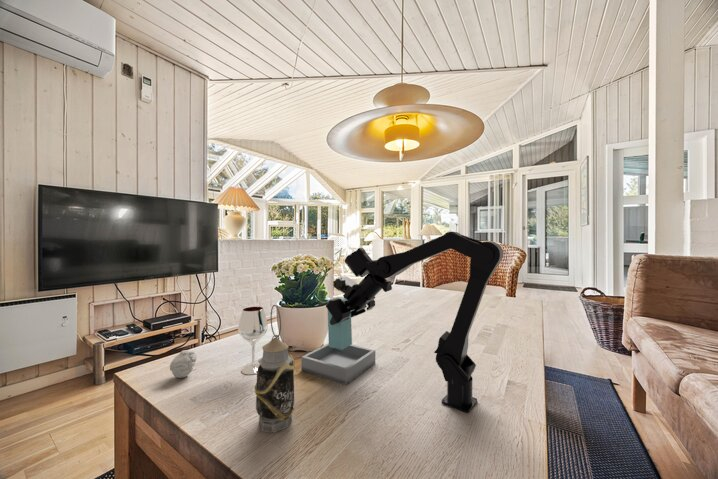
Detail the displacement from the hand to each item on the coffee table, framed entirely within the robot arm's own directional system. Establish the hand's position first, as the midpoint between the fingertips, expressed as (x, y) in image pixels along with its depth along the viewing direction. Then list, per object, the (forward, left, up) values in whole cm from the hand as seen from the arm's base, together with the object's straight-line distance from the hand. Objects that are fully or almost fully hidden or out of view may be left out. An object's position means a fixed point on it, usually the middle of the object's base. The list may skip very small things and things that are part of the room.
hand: (336, 321), depth 90 cm
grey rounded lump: (-33, +28, -14) cm, 45 cm away
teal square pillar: (0, -1, -7) cm, 7 cm away
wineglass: (-18, +17, -14) cm, 28 cm away
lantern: (-28, -9, -14) cm, 32 cm away
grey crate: (0, -1, -13) cm, 13 cm away
